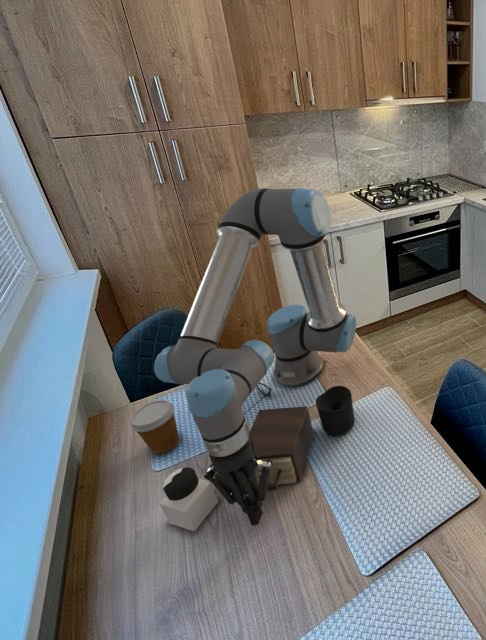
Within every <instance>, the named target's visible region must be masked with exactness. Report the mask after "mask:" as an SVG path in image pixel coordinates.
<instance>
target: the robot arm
mask: <svg viewBox="0 0 486 640" xmlns="http://www.w3.org/2000/svg"><path fill="white" fill-rule="evenodd" d="M331 217H332V213H331V208H330V206H329V202H328V200H327V199H326V197H325V196H324V195H323V194H322V193H321V192H320V191H318V190H316V189H312V188H304V187H298V188H257V189H253V190H250V191H248V192H246V193H244V194H242V195H241V196H240V197H239V198H237V200H236V201H235V202H234V203H232V205H231V206H230V207H229V208H228V209H227V211H226V212H225V213H224V215H223V216H222V218H221V220H220V222H219V224H218V227H217V230H216V235H217V237H218V239H217V242H216V244H215V247H214V250H213V252H212V254H211V258H210V259H209V262H208V265H207V267H206V269H205V272H204V275H203V277H202V280H201V282H200V285H199V287H198V290H197V292H196V295H195V296H194V297H195V298H194V301H193V303H192V305H191V307H190V310H189V312H188V315H187V318H186V320H185V323H184V325H183V327H182V330H181V333H180V336H179V337H178V340H177V342H176V344H175V345H169V346H166V347H164V348H163V349H162V350H161V352H160V353H158V354H157V356H156V358H155V360H154V366H153V371H154V374H155V376H156V378H157V379H158V380H160V381H161V382H163V383H169V384H176V385H187V386H186V389H185V396H186V400H187V404H188V410H189V412H190V414H191V415H192V418H193V421H194V422H195V425H196V428H197V429H198V432H199V433H200V437H201V439H202V441H203V445H204V446H205V449H206V452H207V453H208V457H209V459H210V462H211V464H209V465H208V468H207V469H206V472H205V473H204V476H203V478H204V480H206V481H209V482H211V484H212V486H214V487H215V489H216V490H217V491H218V492H219V494H220V495H221V496H222V497H223V498H224V500H225V501H226V502H227V503H228V504H229V505H235V504H236V503H237V505H238V506H240V508H241V511H242V513H243V514H246V515H247V518H248V520H249V523H250V525H251V526H259V524H260V522H261V518H262V516H263V513H264V512H263V506H264V502H265V500H266V498H267V494H268V492H269V491H268V489H269V471H270V468H271V465H272V463H273V460H271V459H268V460H267V461H266V462H264V461H261V460H260V458H259V456H258V455H256V453H255V447H254V444H253V441H252V437H251V434H250V428H249V425H248V423H247V420H246V419H247V418H246V417H245V414H244V413H245V412H244V410H243V404H244V403H245V401H246V400H247V399H248V398H249V397H250V395H251V394H252V393H253V391H254V390H255V389H256V388H257V387H256V386H257V385H258V386H259V384H258V383H261V381H262V379H263V378H264V377H266V375H267V374H268V371H269V369H270V368H271V367H272V365H273V363H274V366H273V367H274V369H273V376H274V381H275V382H276V383H277V384H278V385H279V386H282V387H287V388H297V387H301V386H304V385H307V384H308V383H311V382H313V381H314V380H315V379H316V378H318V376H320V374H321V373H322V371H323V370H324V369H323V368H324V363H323V359H322V357H321V355H320V354H319V352H323V353H324V352H325V353H345V352H348V351H349V350H350V349H351V347H352V346H353V343H354V339H355V336H356V330H357V318H356V316H355V314H352V313H349V314H348V313H347V310H346V307H345V305H343V304H342V303H340V302H339V299H338V295H337V292H336V288H335V284H334V281H333V277H332V276H333V275H332V272H331V269H330V265H329V261H328V256H327V254H326V249H325V245H324V240H325V239H326V237H327V234H328V232H329V231H330V229H331V225H332V219H331ZM265 235H267V236H269V235H271V236H278V239H279V241H280V244H281V247H283V248H284V249H286V250H289V253H290V255H291V258H292V261H293V265H294V267H295V271H296V274H297V277H298V280H299V283H300V286H301V289H302V292H303V295H304V299H305V302H306V305H307V307H308V312H307V309H306V307H305V306H304V305H301V304H290V305H286V306H284V307H282V308H279V309H276V311H274V312H273V313H272V314H271V315H270V316H269V317H268V319H267V323H266V324H267V329H268V330H267V331H268V335H269V338H270V341H271V344H272V348H273V349H272V348H271V347H270V346H269V345H268V344H267V343H266V342H264V341H262V340H260V339H250V340H248V341H246V342H244V343H243V344H241V345H240V346H239V348H236V349H235V348H233V349H232V348H218V346H219V343H220V340H221V337H222V335H223V332H224V328H225V326H226V323H227V320H228V317H229V315H230V312H231V309H232V306H233V303H234V301H235V297H236V295H237V292H238V289H239V287H240V283H241V281H242V278H243V275H244V272H245V269H246V267H247V263H248V262H249V259H250V255H251V254H252V253H251V252H252V249H254V248H255V247H257V246H258V245H259V243H260V240H261V238H262V237H263V236H265ZM274 360H275V361H274ZM256 467H257V468H258V471H259V474H261V475H260V478H259V485H258V482H257V480H256V477H255V474H254V470H255V469H256Z"/></svg>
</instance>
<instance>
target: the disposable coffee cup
mask: <svg viewBox="0 0 486 640" xmlns="http://www.w3.org/2000/svg"><path fill="white" fill-rule="evenodd" d="M129 425H130V428H131V430H133V431H135V432H136V433H137V434H138V436H139V437H140V438H141V440H142V441H143V442H144V443H145V444H146V445H147V447H148V448H149V450H150V451H151V452H152V453H153V454H154V455H164V454H166V453H169V452H171V451H173V449H175V448H176V447H177V446H178V444H179V443H180V435H179V430H178V426H177V422H176V417H175V406H174V404H173V403H171V402H169V400H167V399H156V400H153V401H150V402H148V403H145V404H143V405H142V406H140V407H139V408H138V409H136V410H135V411H134V413H132V415H131V418H130V423H129Z"/></svg>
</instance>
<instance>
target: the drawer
mask: <svg viewBox="0 0 486 640" xmlns="http://www.w3.org/2000/svg"><path fill="white" fill-rule="evenodd" d="M268 459H271V460H273V463H272V465H271V468H270V471H269V489H268V492H275V491H276V492H277V490H278V489H279V485H287V484H296V483H297V481H296V480H297V477H296V473H295V470H294V466H293V463H292V459H291V457H290V456H287V457H279V458H267V459H260V460H261V461H264V462H266V461H267V460H268ZM254 474H255V477H256V480H257V482H258V485H259V478H260V475H261V474H259V471H258V468H257V467H256V469H255V470H254Z"/></svg>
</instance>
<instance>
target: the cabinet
mask: <svg viewBox="0 0 486 640" xmlns="http://www.w3.org/2000/svg"><path fill="white" fill-rule="evenodd" d="M313 428H314V427H313V423H312V421H311V416H310V412H309V407H308V405H305V406H304V405H303V406H293V407H292V406H291V407H277V408H266V409H259V410H258V412H257V414H256V416H255V419H254V421H253V423H252V425H251V427H250V428H249V431H250V434H251V437H252V441H253V444H254V447H255V453H256V455H258V456H259V458H272V457H284V456H290V457H291V459H292V463H293V466H294V470H295V473H296V477H297V480H296V482H297V481H301V479H302V475H303V472H304V468H305V465H306V461H307V457H308V454H309V449H310V447H311V442H312V438H313V435H314V429H313Z"/></svg>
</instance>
